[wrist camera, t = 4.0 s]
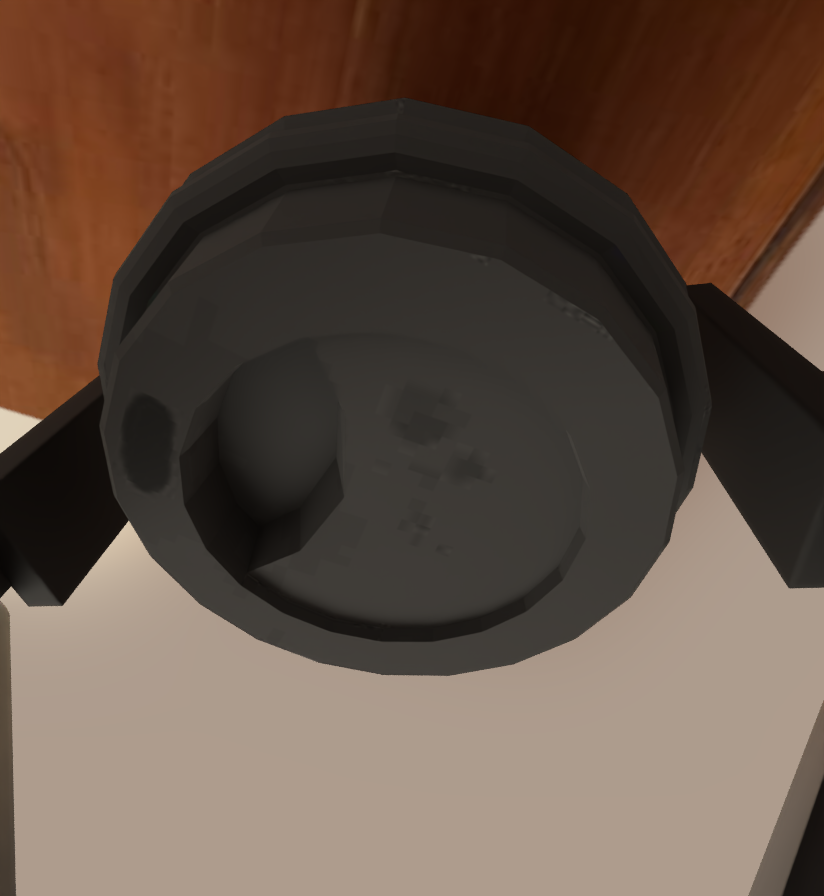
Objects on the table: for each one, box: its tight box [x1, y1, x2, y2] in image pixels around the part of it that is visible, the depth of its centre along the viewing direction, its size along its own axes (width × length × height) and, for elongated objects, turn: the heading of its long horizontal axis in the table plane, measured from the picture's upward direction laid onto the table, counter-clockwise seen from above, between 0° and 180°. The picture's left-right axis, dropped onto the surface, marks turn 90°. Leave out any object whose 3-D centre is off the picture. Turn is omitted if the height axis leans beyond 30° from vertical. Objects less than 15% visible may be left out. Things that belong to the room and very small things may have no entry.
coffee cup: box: [98, 98, 712, 676], centre depth 15 cm, size 11×11×15 cm
